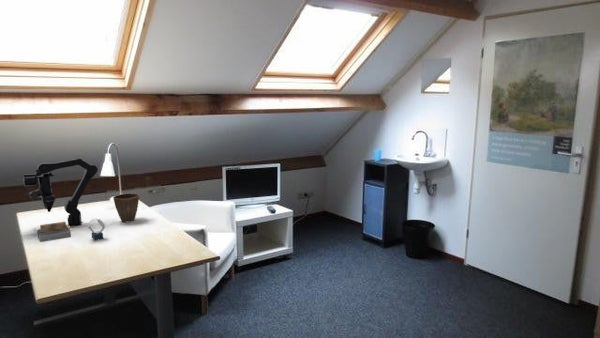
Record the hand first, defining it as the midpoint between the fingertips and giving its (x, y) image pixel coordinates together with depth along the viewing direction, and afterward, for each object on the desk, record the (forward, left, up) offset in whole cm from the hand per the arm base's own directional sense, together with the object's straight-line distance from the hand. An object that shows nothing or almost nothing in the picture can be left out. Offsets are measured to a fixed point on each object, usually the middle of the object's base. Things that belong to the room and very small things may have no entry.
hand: (47, 210), depth 240 cm
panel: (-7, +16, -10) cm, 20 cm away
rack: (-7, +16, -11) cm, 20 cm away
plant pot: (-42, -6, -11) cm, 44 cm away
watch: (-32, +27, -11) cm, 43 cm away
